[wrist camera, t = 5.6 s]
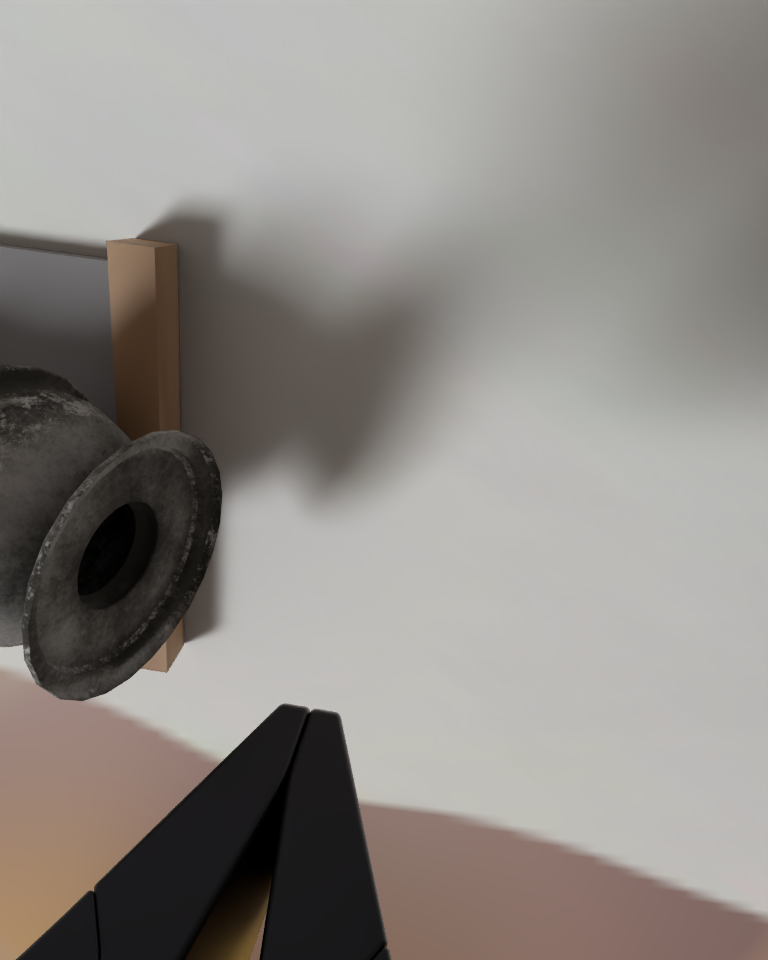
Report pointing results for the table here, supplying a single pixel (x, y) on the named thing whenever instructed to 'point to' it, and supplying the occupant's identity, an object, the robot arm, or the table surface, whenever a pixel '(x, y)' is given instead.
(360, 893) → the robot arm
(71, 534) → the stone baluster finial
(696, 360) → the table surface
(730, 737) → the table surface
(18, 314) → the mat
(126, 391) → the kerb
